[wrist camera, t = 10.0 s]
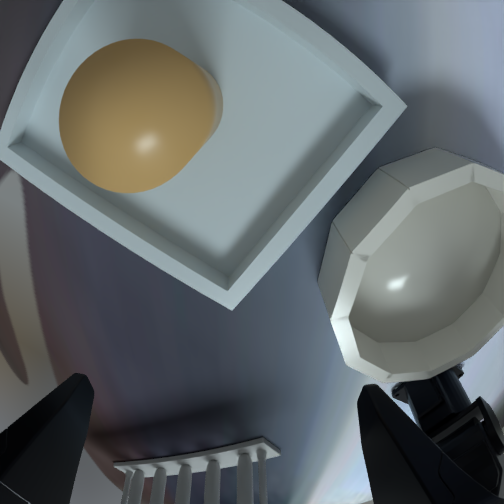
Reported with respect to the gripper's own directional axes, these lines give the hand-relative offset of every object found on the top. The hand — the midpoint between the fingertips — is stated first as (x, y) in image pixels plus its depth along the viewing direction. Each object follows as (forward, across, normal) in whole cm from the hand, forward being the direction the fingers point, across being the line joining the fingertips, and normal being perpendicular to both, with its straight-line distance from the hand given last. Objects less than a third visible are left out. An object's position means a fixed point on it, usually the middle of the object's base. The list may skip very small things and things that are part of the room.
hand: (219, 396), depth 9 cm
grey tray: (+11, +3, -8) cm, 14 cm away
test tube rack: (+12, +7, +32) cm, 35 cm away
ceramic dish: (+12, -13, +2) cm, 18 cm away
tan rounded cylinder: (+10, +3, -8) cm, 13 cm away
